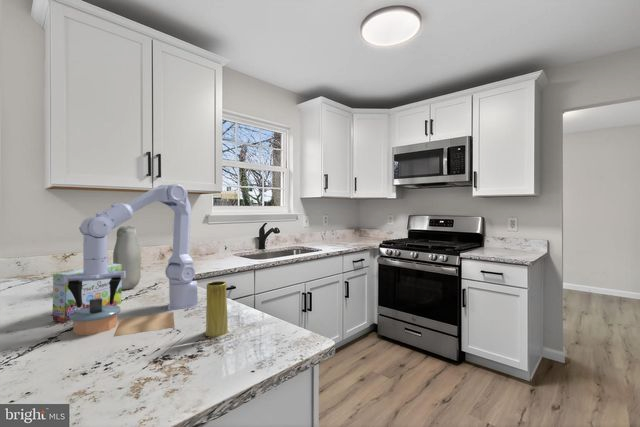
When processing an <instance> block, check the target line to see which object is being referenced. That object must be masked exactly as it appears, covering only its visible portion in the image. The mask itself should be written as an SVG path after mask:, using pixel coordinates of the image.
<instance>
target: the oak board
mask: <svg viewBox="0 0 640 427" xmlns="http://www.w3.org/2000/svg"><path fill="white" fill-rule="evenodd" d="M174 314H175V313H174V312H173V311H172V312H164V313H159V314H149V315H141V316H134V317H127V318H120V320H119V322H118V324H117V326H116V330H115V332H114V334H113V337H118V336H119V337H121V336H125V335H133V334H139V333H146V332H152V331H157V330H166V329H171V328H175V316H174Z"/></svg>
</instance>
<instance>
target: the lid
mask: <svg viewBox="0 0 640 427" xmlns="http://www.w3.org/2000/svg"><path fill="white" fill-rule="evenodd" d="M89 302H90V308H85V309H82V310H78V311H76V312H73V313H72V314H70V321H71V322H73V321H76V322H84V321H94V320H100V319H104V318H108V317H111V316H114V315H116V314H117V315H118V314H119V313H121V306H119V305H115V306H114V305H105V306H102V298H95V299H91V300H89Z"/></svg>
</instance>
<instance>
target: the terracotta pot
mask: <svg viewBox="0 0 640 427" xmlns="http://www.w3.org/2000/svg"><path fill="white" fill-rule="evenodd" d="M72 322H73V325H72V326H73V328H72V329H73V330H72V331H73V334H74V335H77V336H78V335H79V336H90V335H96V334H97V335H98V334H101V333H104V332H108V331H110V330H113V329H114V328H115V329H116V328H117V326H118V314H116V315H114V316H111V317H108V318H104V319H100V320H94V321H84V322H76V321H72Z"/></svg>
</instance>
